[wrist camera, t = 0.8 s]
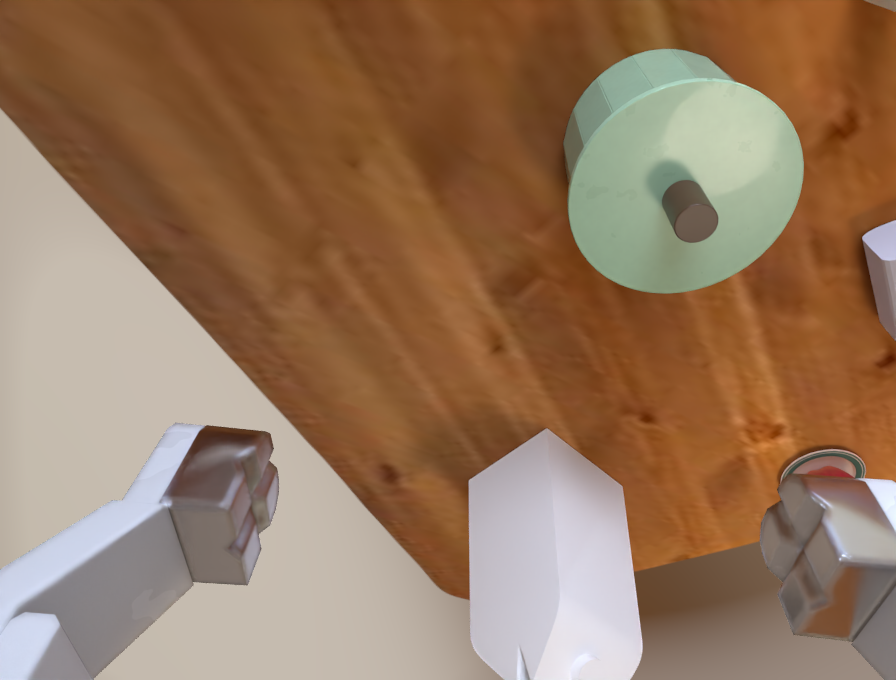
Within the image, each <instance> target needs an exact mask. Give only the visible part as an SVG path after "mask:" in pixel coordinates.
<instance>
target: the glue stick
mask: <svg viewBox="0 0 896 680" xmlns="http://www.w3.org/2000/svg"><path fill="white" fill-rule="evenodd" d="M864 1H866V2H869V3H872V4H875V5H878V6H880V7H883V8H886V9H889V10H892V11H895V12H896V0H864Z"/></svg>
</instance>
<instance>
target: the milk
mask: <svg viewBox="0 0 896 680" xmlns="http://www.w3.org/2000/svg"><path fill="white" fill-rule="evenodd" d="M469 559H470V635H471V642H472V645H473V648H474V650H475V651H476V653H477V654H478V655H479V656H480V657H481V659H482V660H483V661H484V662H486V663H487V664H488V665H489V666H490V667H491V668H492V669H493V670H494V671H495V672H496V673H498V674H499V675H500V676H501V677H502V678H503V679H504V680H630V679H631V677H632V676H633V674H634V672H635V670H636V669H637V667H638V664H639V662H640V659H641V655H642V635H641V627H640V619H639V612H638V604H637V596H636V588H635V581H634V572H633V565H632V557H631V549H630V541H629V533H628V525H627V517H626V510H625V502H624V494H623V486H622V485H620V484H619V483H618V482H616V481H615V480H614V479H612V478H611V477H610V476H609V475H607V474H606V473H605V472H603V471H602V470H601V469H599V468H598V467H597V466H596V465H594V464H593V463H592V462H590V461H589V460H588V459H586V458H585V457H584V456H583V455H581V454H580V453H579V452H577V451H576V450H575V449H573V448H572V447H571V446H570V445H568V444H567V443H566V442H564V441H563V440H562V439H560V438H559V437H558V436H557V435H555V434H554V433H553V432H551V431H550V430H549V429H547V428H546V429H545V430H543V431H542V432H540V433H539V434H537V435H536V436H534V437H533V438H531V439H530V440H528V441H527V442H525V443H524V444H522V445H521V446H519V447H518V448H516V449H515V450H513V451H512V452H510V453H509V454H507V455H506V456H504V457H503V458H501V459H500V460H498V461H497V462H495V463H494V464H492V465H491V466H489V467H488V468H486V469H485V470H483V471H482V472H480V473H479V474H477V475H476V476H474V477H473V478H471V479H470V480H469Z"/></svg>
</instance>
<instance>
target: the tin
mask: <svg viewBox="0 0 896 680" xmlns="http://www.w3.org/2000/svg"><path fill="white" fill-rule="evenodd" d="M694 78H717V79H723V80H730V81H734V82H736V81H735V80H734V79H733V78H731V77H730V76H729V75H728V74H727V73H725V72H724V71H723V70H722V69H721V68H719V67H718V66H717V65H716V64H715V63H713V62H712V61H711V60H710V59H708V58H707V57H705V56H701V55H698V54H695V53H692V52H689V51H684V50H677V49H658V50H651V51H646V52H642V53H639V54H636V55H633V56H631V57H628V58H626V59H624V60H622V61H620V62H618V63H616V64H615V65H613V66H611V67H610V68H609V69H607V70H606V71H604V72H603V73H602V74H601V75H600V76H599V77H597V78H596V79H595V80H594V81H593V82H592V83H591V84H590V86H589V87H588V88H587V89H586V90H585V91H584V93H583V94H582V96H581V97H580V99H579V100H578V102H577V104H576V106H575V107H574V109H573V111H572V114H571V116H570V119H569V122H568V125H567V129H566V133H565V139H564V143H563V146H564V157H565V165H566V174H567V179H568V184H569V183H570V179H571V175H572V172H573V169H574V166H575V164H576V161H577V159H578V157H579V155H580V153H581V151H582V150H583V148H584V146H585V144H586V143H587V141H588V140H589V139H590V137H591V136H592V134H593V133H594V132H595V131H596V129H597V128H598V127H599V126H600V125H601V124H602V123H603V122H604V121H605V120H606V119H607V118H608V117H609V116H610V115H611V114H612V113H614V112H615V111H616V110H617V109H618V108H620V107H621V106H623V105H624V104H626V103H627V102H628V101H630V100H631V99H633V98H635V97H637V96H639V95H641V94H642V93H644V92H646V91H648V90H651V89H653V88H656V87H659V86H661V85H664V84H668V83H671V82H675V81H679V80H686V79H694Z"/></svg>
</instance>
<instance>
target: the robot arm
mask: <svg viewBox="0 0 896 680" xmlns="http://www.w3.org/2000/svg"><path fill="white" fill-rule="evenodd" d="M273 449H274V448H273V443H272V439H271V434H270V433H268V432H265V431H256V430H246V429H237V428H227V427H217V426H208V425H207V426H202V425H193V424H183V423H175V424H173V425H172V426H170V427H169V428H168V429H167V430H166V432H165V433H164V435H163V436H162V438H161V440H160V441H159V443H158V444H157V446H156V447H155V449H154V451H153V452H152V454H151V455H150V457H149V459H148V460H147V462H146V463H145V465H144V466H143V468H142V469H141V471H140V473H139V474H138V476H137V477H136V479H135V481H134V482H133V484H132V485H131V487H130V488H129V490H128V492H127V493H126V495H125V496H124V498H123V499H122V501H117V500H112V501H110V502H108V503H107V504H105V505H104V506H102V507H100V508H99V509H97V510H96V511H94V512H92V513H91V514H89V515H87V516H86V517H84V518H83V519H81V520H79V521H78V522H76V523H74V524H73V525H71V526H70V527H68V528H66V529H65V530H63V531H61V532H60V533H58V534H57V535H55V536H54V537H52V538H50V539H49V540H47V541H45V542H44V543H42V544H40V545H39V546H37V547H36V548H34V549H32V550H31V551H29V552H28V553H26V554H24V555H23V556H21V557H20V558H18V559H16V560H15V561H13V562H11V563H10V564H8V565H7V566H5V567H3V568H2V569H0V680H93V679H94V678H95V677H96V676H97V675H98V674H99V673H100V672H101V671H102V670H103V669H104V668H106V667H107V666H108V665H109V664H110V663H111V662H112V661H113V660H114V659H115V658H116V657H117V656H118V655H119V654H120V653H122V652H123V651H124V650H125V649H126V648H127V647H128V646H129V645H130V644H131V643H132V642H133V641H134V640H135V639H137V638H138V637H139V636H140V635H141V634H142V633H143V632H144V631H145V630H146V629H147V628H148V627H149V626H150V625H152V624H153V623H154V622H155V621H156V620H157V619H158V618H159V617H160V616H161V615H162V614H163V613H164V612H165V611H166V610H168V609H169V608H170V607H171V606H172V605H173V604H174V603H175V602H176V601H177V600H178V599H179V598H180V597H181V596H183V595H184V594H185V593H186V592H187V591H188V590H189V589H190V588H191V587H192V586H193V582H201V583H217V584H234V585H248V583H249V580H250V578H251V575H252V572H253V570H254V567H255V564H256V562H257V559H258V556H259V554H260V551H261V544H260V539H259V533H261V532H262V531H263V530H265V529H266V528H267V527H268V526H270V524H271V521H272V519H273V515H274V513H275V510H276V504H277V499H278V493H279V478H278V471H277V468H276V467H275V466H274V465H273V464H272V463H271V462H270V461H269V459H270V457H271V454H272V452H273ZM777 491H778V493H779V495H780V498H781V501H780V502H778V503H776V504H775V505H773V506H771V507H770V508H768V509H767V511H766V513H765V515H764V518H763V520H762V522H761V532H760V543H761V549H762V554H763V557H764V560H765V562H766V565H767V568H768V569H769V570H770V571H771V572H773V574H775V575H776V576H777V577H778V578H779V579H780V580H781V581H782V582H783V583H782V585H781V588H780V590H779V592H778V596H779V599H780V601H781V604H782V607H783V609H784V612H785V614H786V617H787V619H788V622H789V624H790V627H791V629H792V632H793V634H794V635H800V636H808V637H817V638H825V639H834V640H842V641H851V642H853V643H852V646H853V647H854V648H855V649H856V650H857V651H858V652H859V653H860V654H861V655H862V656H863V657H864V658H865V660H866V661H867V662H868V663H869V664H870V665H871V666H872V667H873V668H874V669H875V670H876V671H877V672H878V673H879V674H880V676H881V677H882V678H883V679H884V680H896V483H895V482H894V481H893V480H879V479H865V478H856V479H855V478H851V477H837V476H823V475H809V474H795V473H790V474H788V475H787V476H786V477H784V478H783V479H782V481H781V483H780V485H779V487H778V489H777Z"/></svg>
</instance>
